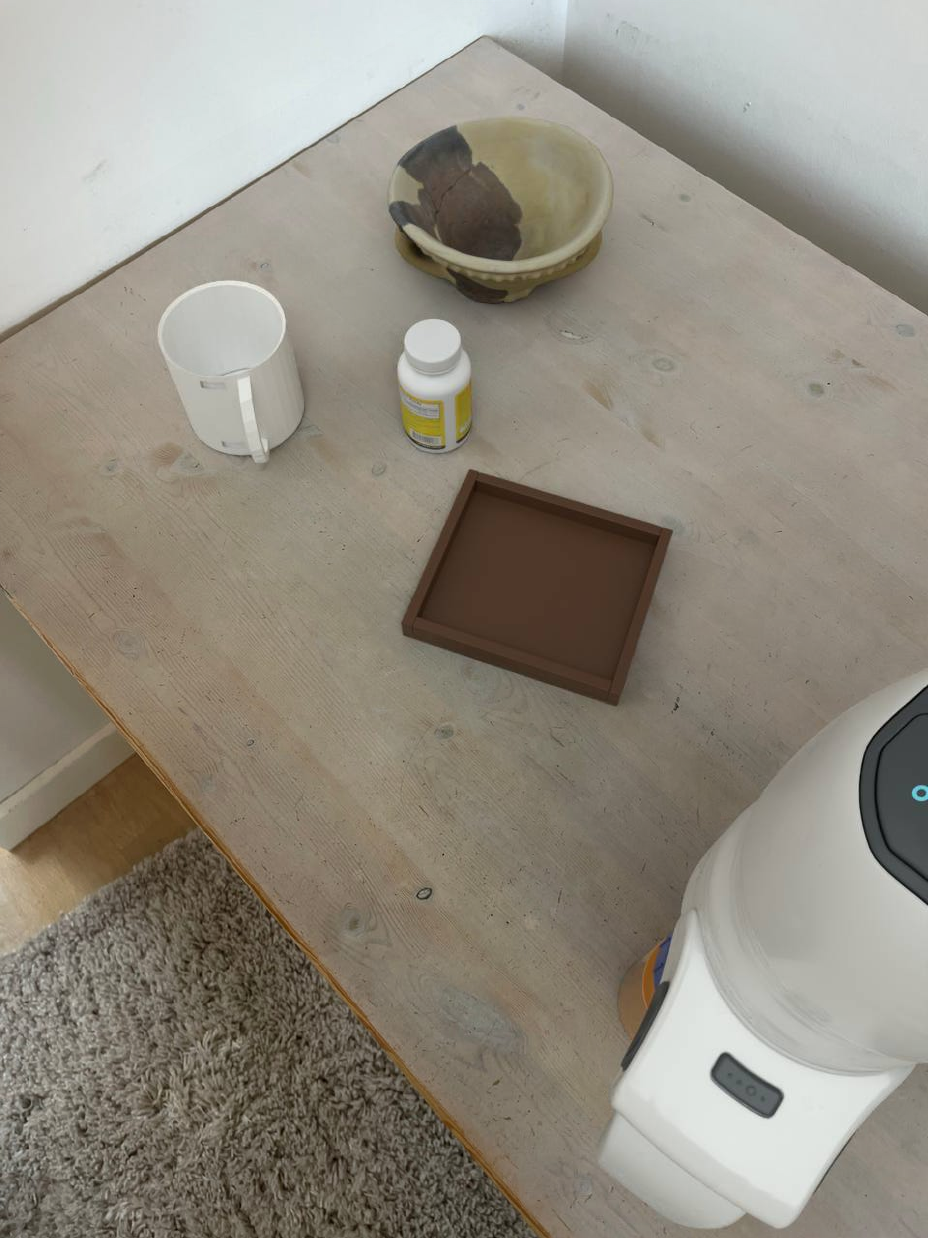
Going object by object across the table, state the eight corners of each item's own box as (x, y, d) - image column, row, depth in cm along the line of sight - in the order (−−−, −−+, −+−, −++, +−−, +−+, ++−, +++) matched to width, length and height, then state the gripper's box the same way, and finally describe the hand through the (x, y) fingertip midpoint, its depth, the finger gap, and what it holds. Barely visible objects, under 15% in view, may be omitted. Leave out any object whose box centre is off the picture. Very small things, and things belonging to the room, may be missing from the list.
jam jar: (730, 974, 59) (789, 944, 48) (705, 1078, 56) (762, 1071, 45) (633, 938, 60) (670, 901, 49) (605, 1039, 57) (637, 1023, 46)
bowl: (607, 211, 88) (622, 114, 79) (589, 366, 80) (604, 276, 71) (413, 192, 89) (408, 94, 80) (376, 342, 81) (366, 251, 72)
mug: (190, 372, 79) (158, 286, 71) (302, 361, 80) (283, 274, 72) (190, 495, 74) (155, 417, 66) (310, 482, 75) (290, 404, 66)
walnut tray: (668, 544, 72) (673, 529, 70) (616, 706, 66) (620, 695, 64) (469, 484, 74) (469, 468, 73) (402, 635, 69) (401, 622, 67)
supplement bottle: (457, 392, 78) (455, 302, 70) (482, 443, 76) (483, 356, 67) (393, 411, 78) (383, 323, 69) (416, 464, 75) (409, 379, 67)
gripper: (863, 655, 38) (767, 767, 50) (582, 1145, 30) (551, 1135, 43) (1020, 744, 36) (881, 837, 49) (764, 1285, 29) (677, 1232, 41)
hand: (725, 980), depth 46 cm, fingers closed on jam lid, 6 cm apart
